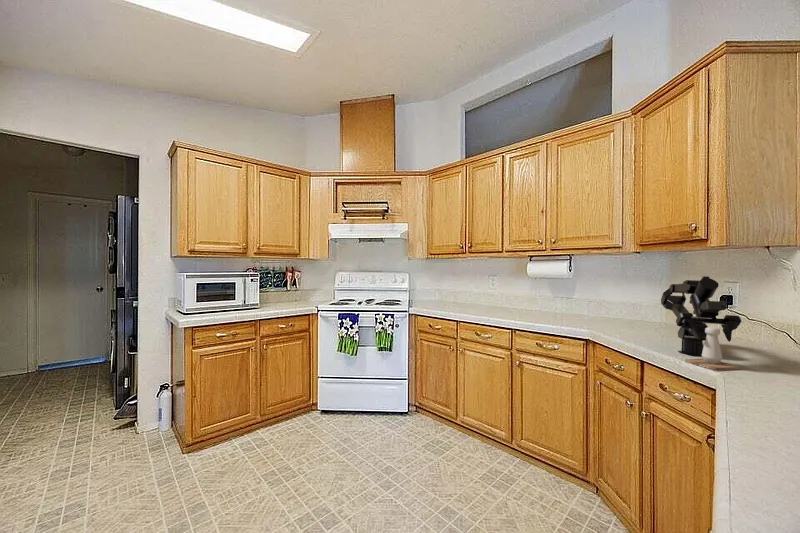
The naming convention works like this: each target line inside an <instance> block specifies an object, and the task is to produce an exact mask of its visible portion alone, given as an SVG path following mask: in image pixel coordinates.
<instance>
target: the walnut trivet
mask: <svg viewBox="0 0 800 533" xmlns="http://www.w3.org/2000/svg"><path fill="white" fill-rule="evenodd" d="M684 362H685V363H687V364H690V363H691V365H694V364H696V365H695V366H697V365H701V366H705V367H708V368H711V369H714V370H722V371H733V370H734V371H735V370H741V366H739V365H735V364H732V363H727V362H724V361H722V360H721V361H720V363H719V364H710V363H706V362H704V360H703V358H689V359H688V358H685V360H684ZM711 369H710V370H711ZM714 370H713V371H714Z"/></svg>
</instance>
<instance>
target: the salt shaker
mask: <svg viewBox="0 0 800 533" xmlns="http://www.w3.org/2000/svg"><path fill="white" fill-rule="evenodd" d="M705 333H707V336H706V340H705V341H704V344H703V352H702V355H701V357H702V358H701V359H703V360H704V362H706V363H710V364H719V363H720V361H721V362H722V360H723V354H722V350H721V345H720V340H719V336H718V335H720V334H721V329H720V328H718V327H713V326H708V327H707V328H705Z"/></svg>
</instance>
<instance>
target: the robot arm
mask: <svg viewBox="0 0 800 533" xmlns="http://www.w3.org/2000/svg"><path fill="white" fill-rule="evenodd" d="M719 285H720V284H719V283H718V281H716V280H715V279H714V278H713V279H712V278H710V276H708V275H707V276H702V277H701V279H700V280H699V279H697V280H696V279H695V280H694V279H693V280H692V279H691V280H690V279H685V280H684V281H683V282H682V283H672V284H670V285H669V288H667V290H665V291H663V292H662V294H661V297H660V304H661V305H662V307H663V308H665V309H666V310H669V311H672V313H673V314H674V315H675V317H676V319H675V323H676V325H677V327H679V329H678V331H677V337H678V338H679V339H681V349H680V350H678V352H679V353H680V354H685V355H688V356H692V357H696V356H698V357H699V356H700V357H702V352H703V348H704V344H703V342H705V340H706V336H707V333H705V328H707V327H709V326H708V325H707V324H710V325H720V326H721V328H722V329H721V330H722V332H723V335H724V336H725V338H726V340H727V342H729V343H730V342H731V341H732V334H733V331H734V330H737V329H738V327H739V326H740V324H742V319H741V317H740V316H739V315H731V314H725V316H724V317H723V318H717V317H718V316H720V314H719V313H720V311H721V312H722V311H725V310H727V308H728V304H727V303H726V301H725V300H718V301H715V300H710V299H711V298H712V297H714V295H715V293H716V291H717V290H718V289H719V287H720V286H719ZM673 293H675V294H681V295H673ZM685 294H686V295H690V296H689V304H691V306H692V308H693V311H692V312H690V311H689V310H688V309H687V307H685V306H684V305H685V303H686V301H687V297H686V295H685ZM694 315H695V316H694Z"/></svg>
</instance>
